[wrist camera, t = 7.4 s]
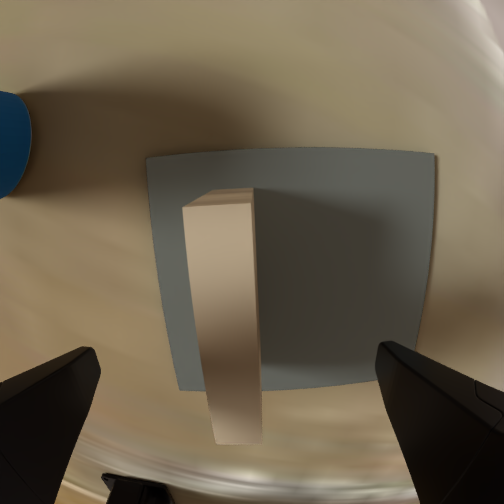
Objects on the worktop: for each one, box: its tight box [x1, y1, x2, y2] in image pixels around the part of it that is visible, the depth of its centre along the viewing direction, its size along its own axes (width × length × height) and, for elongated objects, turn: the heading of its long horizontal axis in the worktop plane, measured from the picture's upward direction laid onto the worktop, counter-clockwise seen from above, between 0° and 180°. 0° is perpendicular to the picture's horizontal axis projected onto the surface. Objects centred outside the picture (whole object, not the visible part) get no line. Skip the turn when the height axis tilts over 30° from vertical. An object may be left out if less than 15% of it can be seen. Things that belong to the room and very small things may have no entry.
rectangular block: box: [182, 188, 262, 445], centre depth 12 cm, size 9×2×6 cm, turn 3°
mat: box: [146, 147, 435, 391], centre depth 15 cm, size 13×14×1 cm
